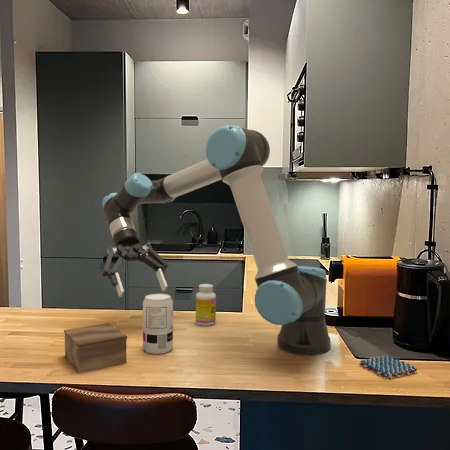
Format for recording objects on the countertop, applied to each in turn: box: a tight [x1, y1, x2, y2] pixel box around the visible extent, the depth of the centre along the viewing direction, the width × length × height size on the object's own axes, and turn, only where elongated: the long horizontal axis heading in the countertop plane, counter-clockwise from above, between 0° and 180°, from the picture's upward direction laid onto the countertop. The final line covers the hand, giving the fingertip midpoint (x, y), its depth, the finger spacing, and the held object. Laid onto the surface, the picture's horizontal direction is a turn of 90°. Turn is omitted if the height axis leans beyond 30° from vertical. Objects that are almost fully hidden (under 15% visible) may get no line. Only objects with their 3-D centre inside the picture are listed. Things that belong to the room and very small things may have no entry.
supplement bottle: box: [195, 283, 217, 327], centre depth 152 cm, size 7×7×13 cm
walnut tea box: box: [63, 322, 128, 373], centre depth 120 cm, size 13×12×7 cm
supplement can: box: [142, 293, 174, 355], centre depth 127 cm, size 8×8×15 cm
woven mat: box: [358, 354, 418, 381], centre depth 116 cm, size 10×11×2 cm
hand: (143, 291), depth 134 cm, fingers open, 13 cm apart
